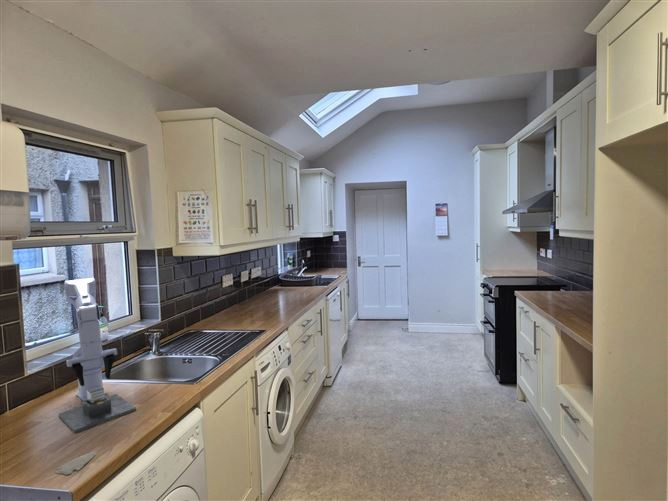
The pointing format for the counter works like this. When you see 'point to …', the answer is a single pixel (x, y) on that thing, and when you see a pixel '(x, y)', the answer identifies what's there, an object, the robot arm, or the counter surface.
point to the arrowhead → (75, 464)
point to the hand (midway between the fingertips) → (95, 381)
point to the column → (95, 394)
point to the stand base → (96, 413)
